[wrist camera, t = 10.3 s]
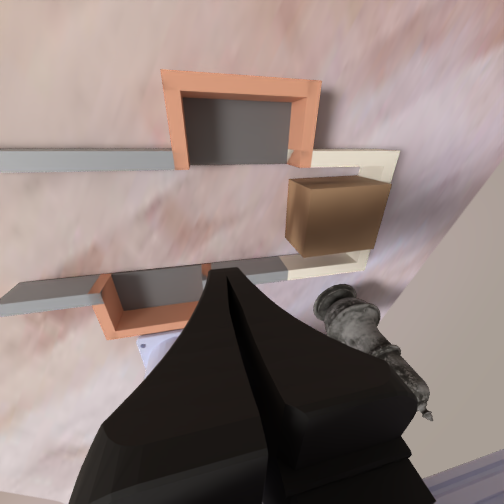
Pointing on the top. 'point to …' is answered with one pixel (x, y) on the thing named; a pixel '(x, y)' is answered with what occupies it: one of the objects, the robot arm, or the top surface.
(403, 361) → the salt shaker
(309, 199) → the walnut block
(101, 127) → the top surface
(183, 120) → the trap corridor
